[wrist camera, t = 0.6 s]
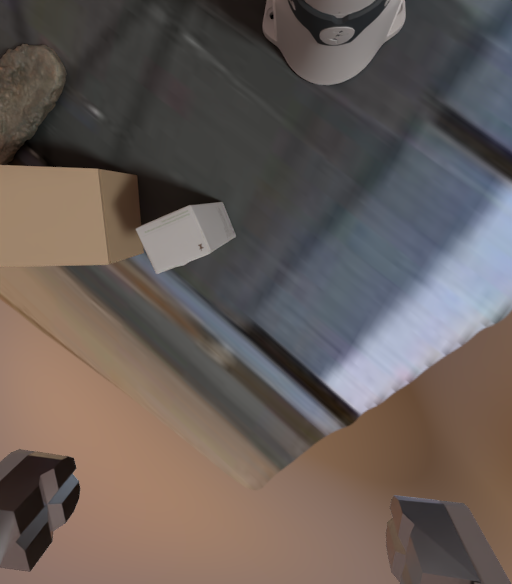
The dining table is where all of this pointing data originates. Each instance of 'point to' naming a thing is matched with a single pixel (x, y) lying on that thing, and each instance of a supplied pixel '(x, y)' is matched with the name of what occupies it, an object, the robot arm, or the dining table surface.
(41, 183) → the lid flap
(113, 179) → the carton
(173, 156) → the dining table surface
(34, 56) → the long grey stone
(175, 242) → the skincare box
